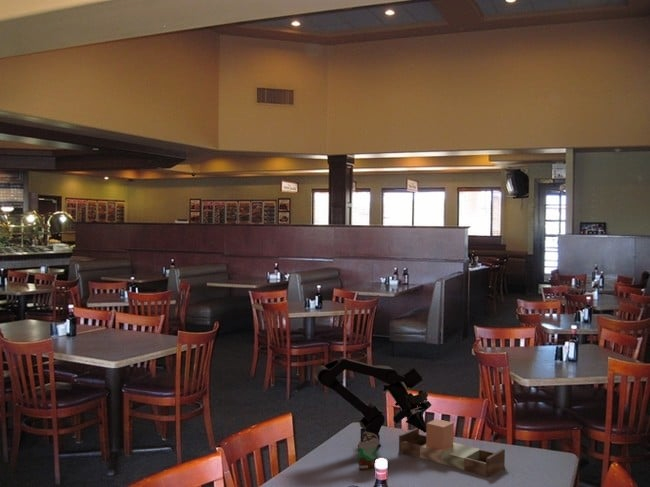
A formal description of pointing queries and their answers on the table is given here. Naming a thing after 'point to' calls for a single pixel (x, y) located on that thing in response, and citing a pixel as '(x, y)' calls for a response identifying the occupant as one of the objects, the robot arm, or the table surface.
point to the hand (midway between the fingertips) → (426, 431)
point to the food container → (368, 451)
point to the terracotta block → (439, 434)
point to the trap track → (453, 454)
